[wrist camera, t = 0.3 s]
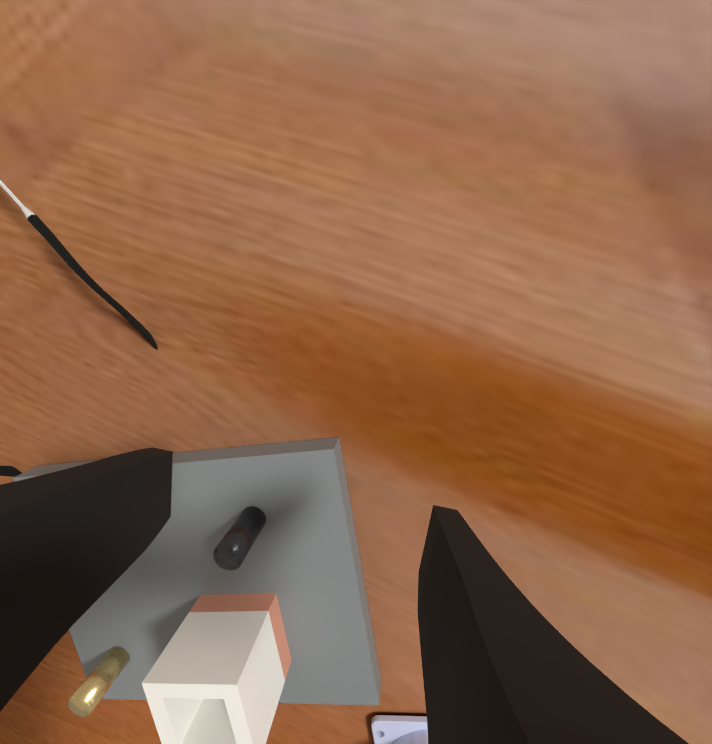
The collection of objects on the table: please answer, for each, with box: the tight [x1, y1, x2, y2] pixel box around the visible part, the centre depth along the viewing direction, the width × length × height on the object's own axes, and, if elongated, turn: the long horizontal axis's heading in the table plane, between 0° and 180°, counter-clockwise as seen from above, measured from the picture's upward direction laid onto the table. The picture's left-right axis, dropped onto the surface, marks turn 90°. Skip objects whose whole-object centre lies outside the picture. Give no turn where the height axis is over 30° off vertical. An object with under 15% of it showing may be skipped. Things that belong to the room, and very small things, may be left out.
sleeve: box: [142, 593, 291, 744], centre depth 19 cm, size 5×5×5 cm
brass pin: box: [68, 646, 130, 717], centre depth 22 cm, size 1×1×3 cm
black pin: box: [213, 506, 266, 571], centre depth 19 cm, size 1×1×3 cm
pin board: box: [13, 437, 381, 705], centre depth 22 cm, size 16×19×2 cm
